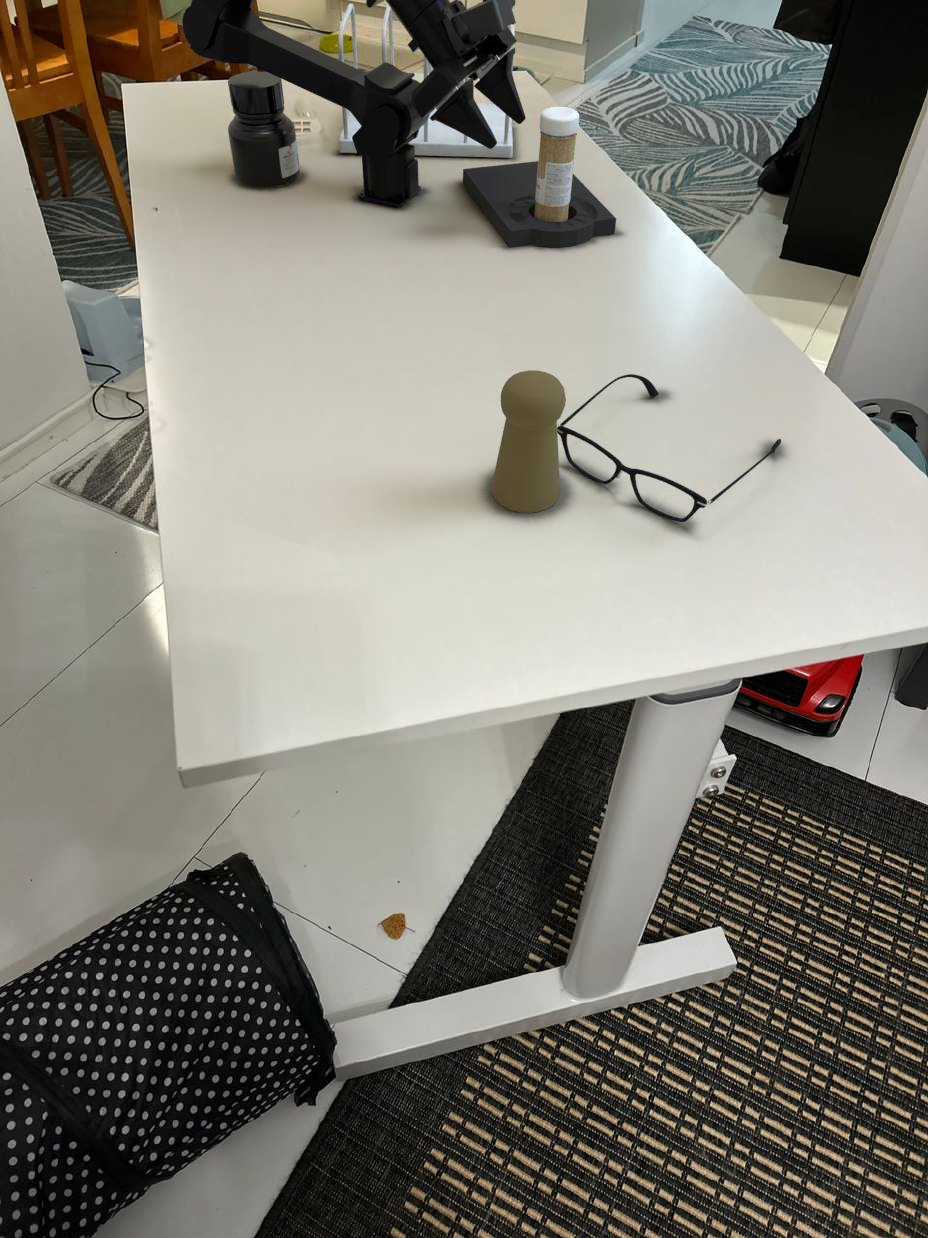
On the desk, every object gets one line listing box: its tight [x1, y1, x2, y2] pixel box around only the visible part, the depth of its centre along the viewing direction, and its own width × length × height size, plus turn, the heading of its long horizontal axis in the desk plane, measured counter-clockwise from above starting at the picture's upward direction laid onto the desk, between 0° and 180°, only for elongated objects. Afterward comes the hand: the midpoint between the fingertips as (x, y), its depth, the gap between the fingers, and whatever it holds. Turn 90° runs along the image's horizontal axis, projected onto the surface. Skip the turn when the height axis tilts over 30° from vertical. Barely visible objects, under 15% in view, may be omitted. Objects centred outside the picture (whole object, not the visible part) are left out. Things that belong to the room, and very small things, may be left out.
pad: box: [462, 160, 617, 248], centre depth 117 cm, size 22×14×2 cm, turn 17°
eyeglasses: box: [557, 373, 782, 523], centre depth 81 cm, size 16×16×4 cm
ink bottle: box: [227, 71, 301, 188], centre depth 120 cm, size 10×9×12 cm
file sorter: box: [337, 3, 516, 159], centre depth 130 cm, size 25×17×16 cm
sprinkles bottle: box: [534, 106, 580, 222], centre depth 110 cm, size 5×5×13 cm
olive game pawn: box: [491, 369, 567, 514], centre depth 75 cm, size 6×6×11 cm
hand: (508, 133), depth 109 cm, fingers open, 9 cm apart
